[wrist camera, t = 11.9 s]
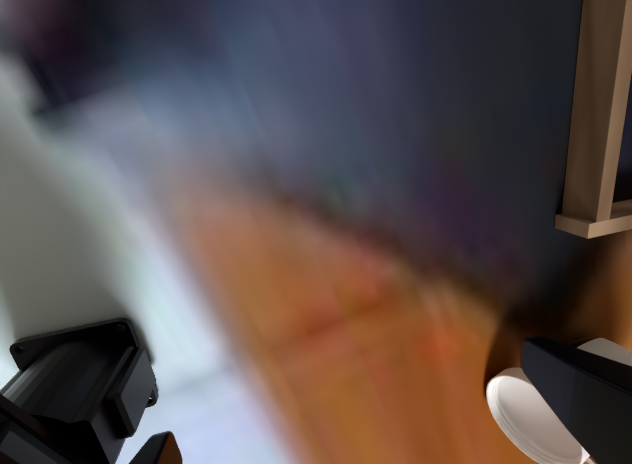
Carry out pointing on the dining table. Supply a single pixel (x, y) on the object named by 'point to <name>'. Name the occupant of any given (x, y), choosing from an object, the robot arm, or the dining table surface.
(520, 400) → the spread jar
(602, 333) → the dining table surface
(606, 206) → the frame
